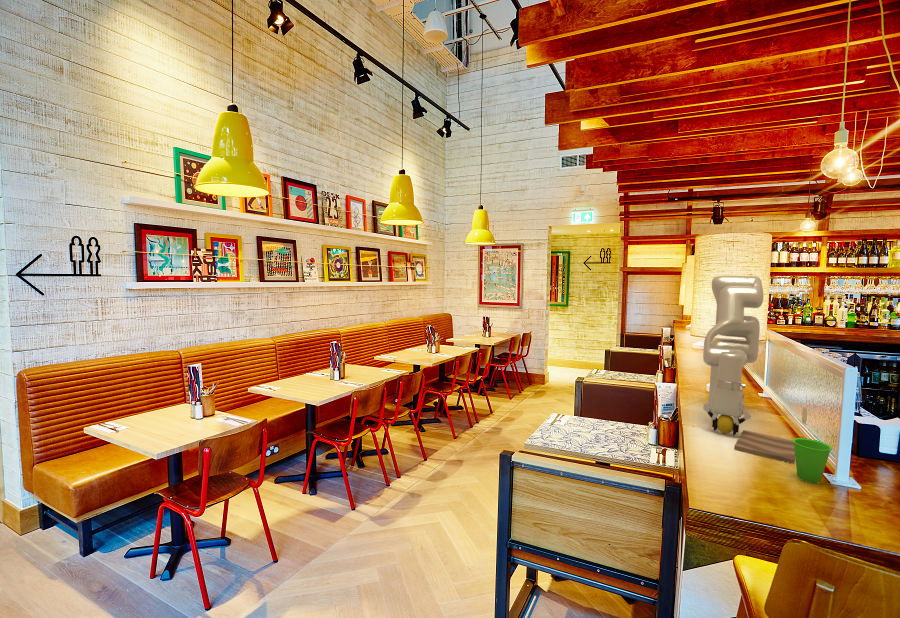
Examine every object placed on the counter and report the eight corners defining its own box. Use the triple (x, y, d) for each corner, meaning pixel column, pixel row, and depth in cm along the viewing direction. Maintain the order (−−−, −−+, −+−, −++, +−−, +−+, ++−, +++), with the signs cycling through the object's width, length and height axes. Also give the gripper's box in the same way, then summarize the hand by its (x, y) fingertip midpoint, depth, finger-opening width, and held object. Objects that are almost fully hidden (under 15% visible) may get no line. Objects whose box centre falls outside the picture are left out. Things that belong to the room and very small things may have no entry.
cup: (788, 469, 133) (791, 435, 132) (826, 478, 128) (830, 442, 127) (790, 480, 126) (793, 444, 125) (831, 490, 120) (834, 452, 119)
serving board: (743, 433, 162) (743, 429, 162) (797, 445, 152) (797, 441, 152) (734, 449, 147) (734, 445, 147) (793, 464, 137) (793, 459, 137)
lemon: (718, 430, 165) (719, 410, 164) (735, 434, 161) (736, 413, 161) (714, 434, 161) (715, 413, 161) (731, 438, 157) (733, 417, 157)
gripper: (757, 387, 157) (753, 435, 158) (704, 378, 168) (701, 423, 170) (755, 391, 151) (751, 441, 153) (700, 382, 162) (696, 428, 164)
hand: (724, 431), depth 161 cm, fingers closed on lemon, 5 cm apart
